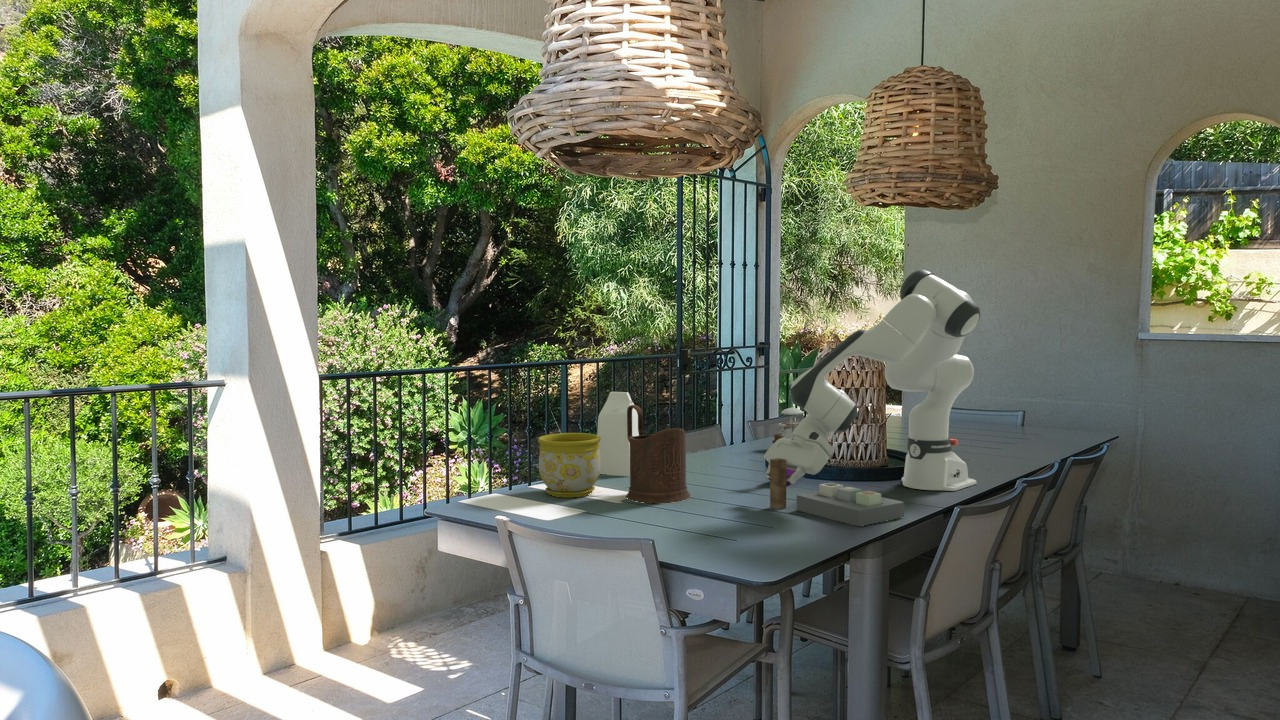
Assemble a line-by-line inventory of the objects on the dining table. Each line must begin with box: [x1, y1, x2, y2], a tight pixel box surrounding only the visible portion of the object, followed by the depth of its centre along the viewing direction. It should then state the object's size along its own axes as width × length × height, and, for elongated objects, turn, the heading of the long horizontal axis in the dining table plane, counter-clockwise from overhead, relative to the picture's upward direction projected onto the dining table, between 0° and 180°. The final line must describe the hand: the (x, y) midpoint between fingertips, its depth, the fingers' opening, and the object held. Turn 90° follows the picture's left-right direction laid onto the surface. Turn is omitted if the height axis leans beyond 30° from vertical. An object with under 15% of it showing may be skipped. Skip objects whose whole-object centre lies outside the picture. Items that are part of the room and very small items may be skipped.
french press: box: [780, 381, 804, 437], centre depth 337 cm, size 10×12×25 cm
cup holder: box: [625, 404, 691, 504], centre depth 262 cm, size 18×24×25 cm
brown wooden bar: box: [769, 458, 787, 510], centre depth 244 cm, size 3×3×13 cm
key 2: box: [856, 490, 882, 506], centre depth 231 cm, size 4×4×4 cm
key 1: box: [818, 482, 844, 497], centre depth 242 cm, size 4×4×4 cm
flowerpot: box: [537, 432, 601, 499], centre depth 265 cm, size 18×18×16 cm
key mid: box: [837, 486, 863, 502], centre depth 237 cm, size 4×4×4 cm
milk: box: [596, 391, 639, 477], centre depth 297 cm, size 12×12×26 cm
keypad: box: [796, 490, 905, 527], centre depth 237 cm, size 16×22×4 cm
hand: (778, 479), depth 244 cm, fingers open, 8 cm apart
